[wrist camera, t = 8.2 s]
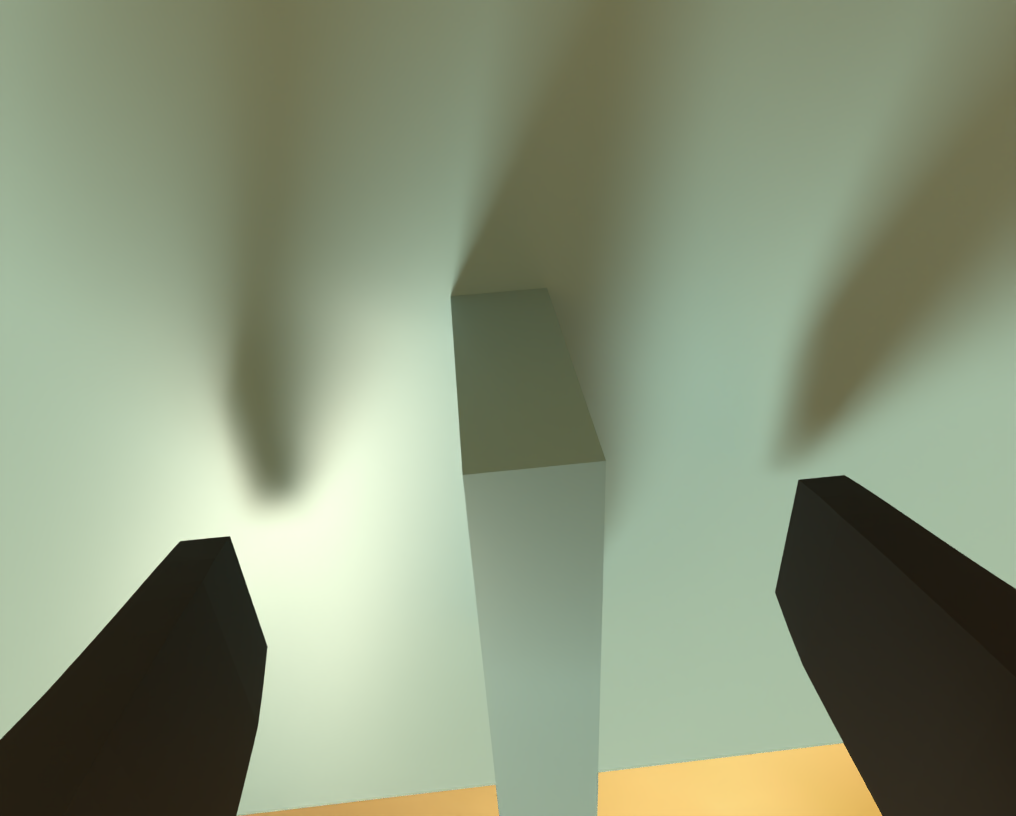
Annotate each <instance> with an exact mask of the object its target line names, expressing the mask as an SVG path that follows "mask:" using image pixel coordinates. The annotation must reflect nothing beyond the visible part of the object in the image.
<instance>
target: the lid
mask: <svg viewBox="0 0 1016 816" xmlns="http://www.w3.org/2000/svg"><path fill="white" fill-rule="evenodd" d="M840 475H845V476H847V477H849V478H850V479H852V480H853V481H855V482H857V483H858V484H860V485H861V486H863V487H864V488H866V489H868V490H869V491H871V492H872V493H874V494H875V495H877V496H878V497H880V498H881V499H883V500H884V501H886V502H887V503H889V504H890V505H891V506H893V507H894V508H896V509H897V510H899V511H900V512H902V513H903V514H905V515H906V516H908V517H909V518H911V519H912V520H914V521H915V522H916V523H918V524H919V525H921V526H922V527H924V528H925V529H927V530H928V531H930V532H931V533H933V534H934V535H936V536H937V537H939V538H940V539H941V540H943V541H944V542H946V543H947V544H949V545H950V546H952V547H953V548H955V549H956V550H958V551H959V552H961V553H962V554H964V555H965V556H967V557H968V558H970V559H971V560H973V561H974V562H976V563H977V564H979V565H980V566H982V567H983V568H985V569H986V570H988V571H989V572H991V573H992V574H994V575H995V576H997V577H998V578H1000V579H1001V580H1003V581H1005V582H1006V583H1008V584H1009V585H1011V586H1012V587H1014V588H1015V589H1016V0H0V739H1V738H2V737H3V736H4V735H5V734H6V733H7V732H8V731H9V730H10V729H11V728H12V727H13V726H14V725H15V724H16V723H17V722H18V721H19V720H20V719H21V718H22V717H23V716H24V715H25V714H26V713H27V711H28V710H29V709H30V708H31V707H32V706H33V705H34V704H35V703H36V702H37V701H38V700H39V699H40V698H41V697H42V696H43V695H44V694H45V693H46V692H47V691H48V690H49V688H50V687H51V686H52V685H53V684H54V683H55V682H56V681H57V680H58V678H59V677H60V676H61V675H62V674H63V673H64V672H65V671H66V670H67V668H68V667H69V666H70V665H71V664H72V663H73V662H74V661H75V660H76V658H77V657H78V656H79V655H80V654H81V653H82V652H83V651H84V650H85V649H86V647H87V646H88V645H89V644H90V643H91V642H92V641H93V640H94V639H95V637H96V636H97V635H98V634H99V633H100V632H101V631H102V629H103V628H104V627H105V626H106V625H107V624H108V623H109V621H110V620H111V619H112V618H113V617H114V616H115V615H116V613H117V612H118V611H119V610H120V609H121V608H122V607H123V605H124V604H125V603H126V602H127V601H128V600H129V598H130V597H131V596H132V595H133V594H134V593H135V592H136V590H137V589H138V588H139V587H140V586H141V585H142V584H143V582H144V581H145V580H146V579H147V578H148V577H149V576H150V574H151V573H152V572H153V571H154V570H155V569H156V568H157V566H158V565H159V564H160V563H161V562H162V561H163V560H164V558H165V557H166V556H167V555H168V554H169V553H170V552H171V551H172V550H173V548H174V547H175V546H176V545H177V544H178V543H179V542H180V541H186V540H196V539H206V538H216V537H226V536H230V537H231V540H232V543H233V546H234V549H235V552H236V555H237V558H238V561H239V564H240V567H241V570H242V573H243V576H244V579H245V582H246V585H247V587H248V590H249V593H250V596H251V599H252V602H253V605H254V608H255V611H256V614H257V617H258V620H259V623H260V626H261V629H262V632H263V635H264V637H265V640H266V643H267V646H268V648H267V657H266V666H265V675H264V685H263V693H262V700H261V708H260V716H259V723H258V729H257V733H256V737H255V741H254V746H253V750H252V754H251V758H250V762H249V767H248V771H247V775H246V779H245V783H244V787H243V791H242V796H241V800H240V804H239V808H238V812H237V816H239V815H248V814H256V813H264V812H273V811H281V810H289V809H298V808H306V807H314V806H323V805H331V804H339V803H348V802H356V801H364V800H373V799H381V798H389V797H398V796H406V795H414V794H423V793H431V792H439V791H448V790H456V789H464V788H473V787H481V786H489V785H496V790H497V799H498V809H499V816H597V801H598V772H606V771H614V770H623V769H631V768H639V767H647V766H656V765H664V764H672V763H681V762H689V761H697V760H706V759H714V758H722V757H731V756H739V755H747V754H756V753H764V752H772V751H781V750H789V749H797V748H806V747H814V746H822V745H831V744H839V743H843V741H842V739H841V737H840V735H839V734H838V732H837V730H836V728H835V726H834V724H833V722H832V720H831V719H830V717H829V715H828V713H827V711H826V709H825V707H824V705H823V703H822V701H821V700H820V698H819V696H818V694H817V692H816V690H815V688H814V686H813V684H812V682H811V680H810V679H809V677H808V675H807V673H806V671H805V669H804V667H803V665H802V662H801V660H800V657H799V655H798V652H797V650H796V647H795V645H794V642H793V640H792V637H791V635H790V632H789V630H788V627H787V624H786V621H785V619H784V616H783V613H782V610H781V608H780V605H779V602H778V600H777V597H776V594H775V589H776V585H777V580H778V575H779V570H780V565H781V561H782V556H783V551H784V546H785V541H786V536H787V532H788V527H789V522H790V517H791V512H792V508H793V503H794V498H795V493H796V488H797V484H798V480H800V479H810V478H820V477H830V476H840Z"/></svg>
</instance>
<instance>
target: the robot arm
mask: <svg viewBox="0 0 1016 816" xmlns="http://www.w3.org/2000/svg"><path fill="white" fill-rule="evenodd" d="M775 594H776V597H777V600H778V602H779V605H780V608H781V610H782V613H783V616H784V619H785V621H786V624H787V627H788V630H789V632H790V635H791V637H792V640H793V642H794V645H795V647H796V650H797V652H798V655H799V657H800V660H801V662H802V665H803V667H804V669H805V671H806V673H807V675H808V677H809V679H810V680H811V682H812V684H813V686H814V688H815V690H816V692H817V694H818V696H819V698H820V700H821V701H822V703H823V705H824V707H825V709H826V711H827V713H828V715H829V717H830V719H831V720H832V722H833V724H834V726H835V728H836V730H837V732H838V734H839V735H840V737H841V739H842V741H843V743H844V745H845V747H846V748H847V750H848V752H849V754H850V756H851V758H852V760H853V761H854V763H855V765H856V767H857V769H858V771H859V773H860V775H861V776H862V778H863V780H864V782H865V784H866V786H867V788H868V789H869V791H870V793H871V795H872V797H873V799H874V801H875V802H876V804H877V806H878V808H879V810H880V812H881V814H882V816H1016V589H1015V588H1014V587H1012V586H1011V585H1009V584H1008V583H1006V582H1005V581H1003V580H1001V579H1000V578H998V577H997V576H995V575H994V574H992V573H991V572H989V571H988V570H986V569H985V568H983V567H982V566H980V565H979V564H977V563H976V562H974V561H973V560H971V559H970V558H968V557H967V556H965V555H964V554H962V553H961V552H959V551H958V550H956V549H955V548H953V547H952V546H950V545H949V544H947V543H946V542H944V541H943V540H941V539H940V538H939V537H937V536H936V535H934V534H933V533H931V532H930V531H928V530H927V529H925V528H924V527H922V526H921V525H919V524H918V523H916V522H915V521H914V520H912V519H911V518H909V517H908V516H906V515H905V514H903V513H902V512H900V511H899V510H897V509H896V508H894V507H893V506H891V505H890V504H889V503H887V502H886V501H884V500H883V499H881V498H880V497H878V496H877V495H875V494H874V493H872V492H871V491H869V490H868V489H866V488H864V487H863V486H861V485H860V484H858V483H857V482H855V481H853V480H852V479H850V478H849V477H847V476H845V475H840V476H830V477H820V478H810V479H800V480H798V484H797V488H796V493H795V498H794V503H793V508H792V512H791V517H790V522H789V527H788V532H787V536H786V541H785V546H784V551H783V556H782V561H781V565H780V570H779V575H778V580H777V585H776V589H775ZM267 648H268V646H267V643H266V640H265V637H264V635H263V632H262V629H261V626H260V623H259V620H258V617H257V614H256V611H255V608H254V605H253V602H252V599H251V596H250V593H249V590H248V587H247V585H246V582H245V579H244V576H243V573H242V570H241V567H240V564H239V561H238V558H237V555H236V552H235V549H234V546H233V543H232V540H231V537H230V536H226V537H216V538H206V539H196V540H186V541H180V542H179V543H178V544H177V545H176V546H175V547H174V548H173V550H172V551H171V552H170V553H169V554H168V555H167V556H166V557H165V558H164V560H163V561H162V562H161V563H160V564H159V565H158V566H157V568H156V569H155V570H154V571H153V572H152V573H151V574H150V576H149V577H148V578H147V579H146V580H145V581H144V582H143V584H142V585H141V586H140V587H139V588H138V589H137V590H136V592H135V593H134V594H133V595H132V596H131V597H130V598H129V600H128V601H127V602H126V603H125V604H124V605H123V607H122V608H121V609H120V610H119V611H118V612H117V613H116V615H115V616H114V617H113V618H112V619H111V620H110V621H109V623H108V624H107V625H106V626H105V627H104V628H103V629H102V631H101V632H100V633H99V634H98V635H97V636H96V637H95V639H94V640H93V641H92V642H91V643H90V644H89V645H88V646H87V647H86V649H85V650H84V651H83V652H82V653H81V654H80V655H79V656H78V657H77V658H76V660H75V661H74V662H73V663H72V664H71V665H70V666H69V667H68V668H67V670H66V671H65V672H64V673H63V674H62V675H61V676H60V677H59V678H58V680H57V681H56V682H55V683H54V684H53V685H52V686H51V687H50V688H49V690H48V691H47V692H46V693H45V694H44V695H43V696H42V697H41V698H40V699H39V700H38V701H37V702H36V703H35V704H34V705H33V706H32V707H31V708H30V709H29V710H28V711H27V713H26V714H25V715H24V716H23V717H22V718H21V719H20V720H19V721H18V722H17V723H16V724H15V725H14V726H13V727H12V728H11V729H10V730H9V731H8V732H7V733H6V734H5V735H4V736H3V737H2V738H1V739H0V816H237V812H238V808H239V804H240V800H241V796H242V791H243V787H244V783H245V779H246V775H247V771H248V767H249V762H250V758H251V754H252V750H253V746H254V741H255V737H256V733H257V729H258V723H259V716H260V708H261V700H262V693H263V685H264V675H265V666H266V657H267Z"/></svg>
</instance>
